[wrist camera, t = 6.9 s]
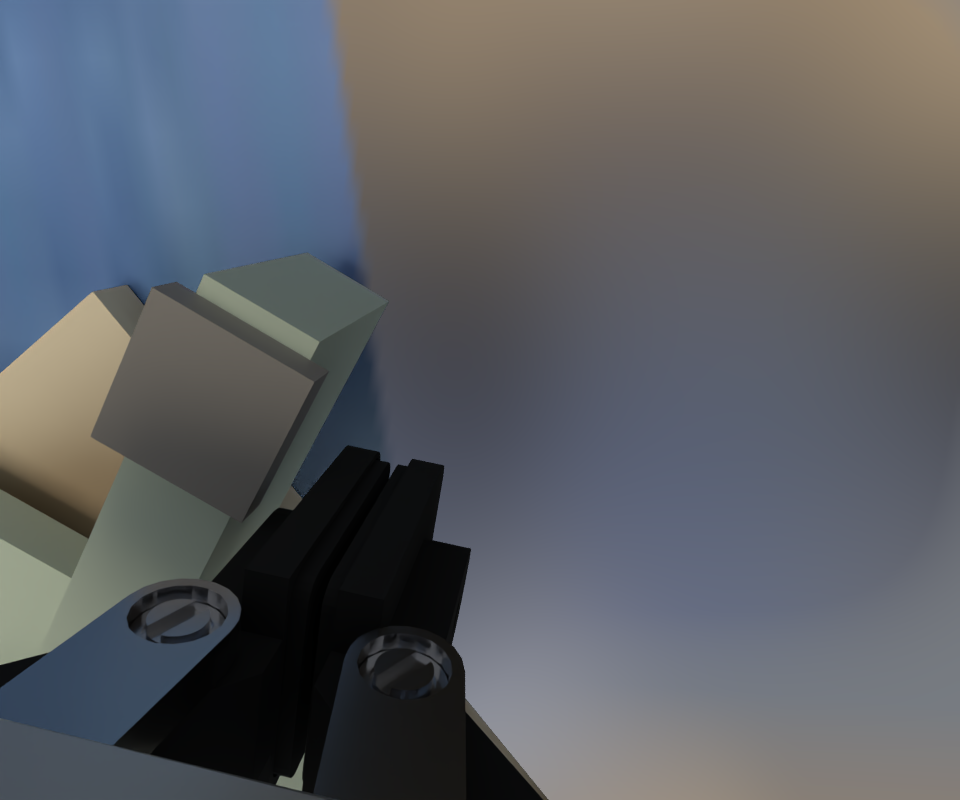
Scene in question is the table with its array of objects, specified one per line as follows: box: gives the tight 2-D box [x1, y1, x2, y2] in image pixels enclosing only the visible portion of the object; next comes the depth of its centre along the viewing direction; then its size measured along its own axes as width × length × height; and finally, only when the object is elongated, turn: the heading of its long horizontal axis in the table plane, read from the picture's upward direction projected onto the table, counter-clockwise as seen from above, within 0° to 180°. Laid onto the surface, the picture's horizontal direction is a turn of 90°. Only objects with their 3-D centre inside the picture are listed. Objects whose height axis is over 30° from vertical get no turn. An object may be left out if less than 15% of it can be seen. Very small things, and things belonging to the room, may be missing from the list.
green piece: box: [0, 253, 389, 791], centre depth 14 cm, size 14×22×5 cm, turn 150°
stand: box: [0, 285, 548, 800], centre depth 18 cm, size 18×18×2 cm
